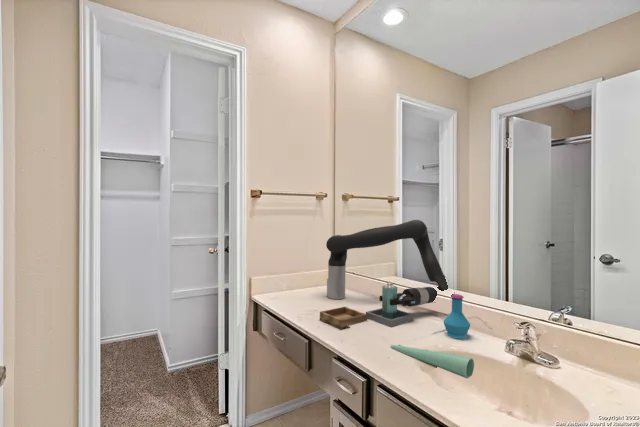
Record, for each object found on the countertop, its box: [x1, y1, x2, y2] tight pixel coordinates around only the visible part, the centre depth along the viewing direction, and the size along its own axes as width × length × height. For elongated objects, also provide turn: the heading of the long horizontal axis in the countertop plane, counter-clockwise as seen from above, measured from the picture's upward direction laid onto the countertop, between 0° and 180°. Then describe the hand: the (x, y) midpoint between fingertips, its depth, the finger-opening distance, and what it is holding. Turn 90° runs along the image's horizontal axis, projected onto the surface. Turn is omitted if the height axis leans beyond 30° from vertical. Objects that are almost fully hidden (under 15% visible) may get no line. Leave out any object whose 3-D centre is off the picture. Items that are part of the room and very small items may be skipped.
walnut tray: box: [319, 306, 368, 331], centre depth 138 cm, size 14×14×4 cm
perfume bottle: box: [443, 293, 471, 339], centre depth 125 cm, size 9×9×15 cm
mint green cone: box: [390, 344, 475, 379], centre depth 103 cm, size 5×6×27 cm
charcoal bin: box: [365, 307, 415, 328], centre depth 139 cm, size 14×14×4 cm
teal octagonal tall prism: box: [381, 281, 398, 319], centre depth 139 cm, size 6×6×16 cm
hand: (385, 300), depth 138 cm, fingers closed on teal octagonal tall prism, 6 cm apart
